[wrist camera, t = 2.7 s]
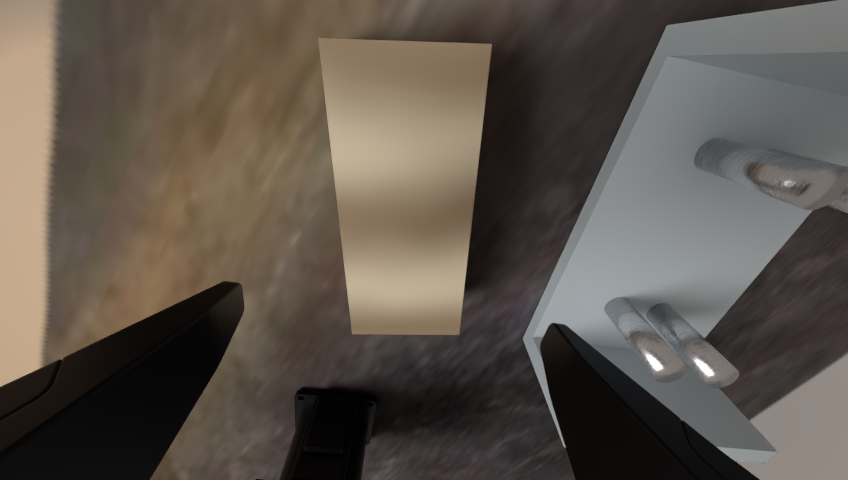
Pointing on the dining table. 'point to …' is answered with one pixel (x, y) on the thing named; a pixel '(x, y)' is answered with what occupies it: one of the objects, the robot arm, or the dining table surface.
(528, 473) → the dining table surface
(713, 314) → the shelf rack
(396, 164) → the shelf board
